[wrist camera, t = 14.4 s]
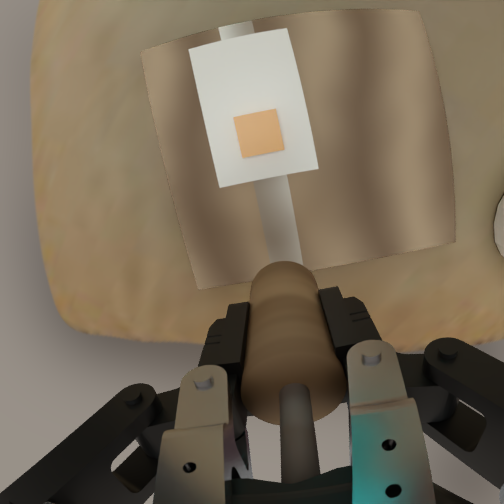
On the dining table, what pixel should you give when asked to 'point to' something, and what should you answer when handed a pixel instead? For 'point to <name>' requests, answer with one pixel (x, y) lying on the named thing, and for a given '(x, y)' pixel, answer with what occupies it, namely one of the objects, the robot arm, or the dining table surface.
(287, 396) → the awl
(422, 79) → the board
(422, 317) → the dining table surface
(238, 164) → the white block
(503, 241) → the white cup
